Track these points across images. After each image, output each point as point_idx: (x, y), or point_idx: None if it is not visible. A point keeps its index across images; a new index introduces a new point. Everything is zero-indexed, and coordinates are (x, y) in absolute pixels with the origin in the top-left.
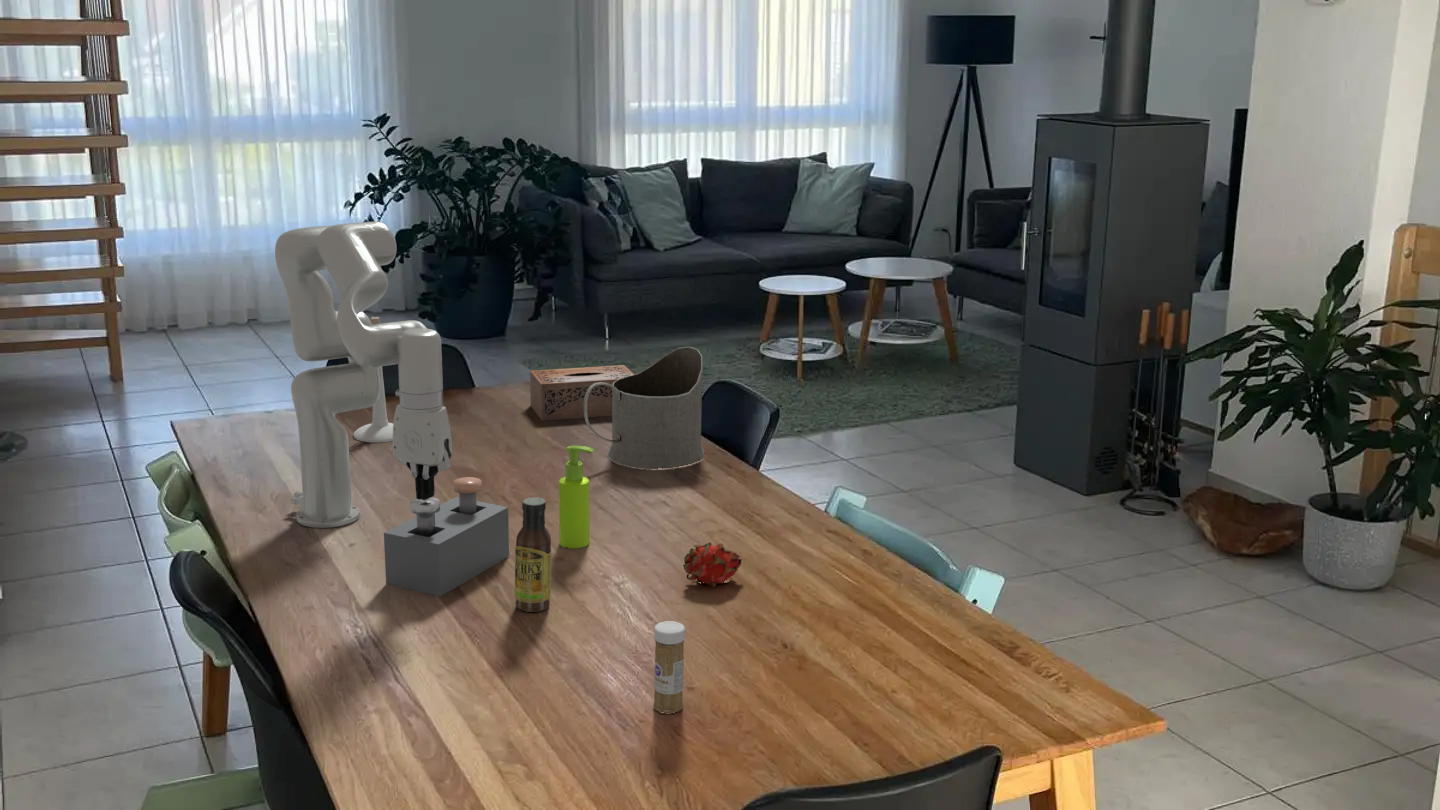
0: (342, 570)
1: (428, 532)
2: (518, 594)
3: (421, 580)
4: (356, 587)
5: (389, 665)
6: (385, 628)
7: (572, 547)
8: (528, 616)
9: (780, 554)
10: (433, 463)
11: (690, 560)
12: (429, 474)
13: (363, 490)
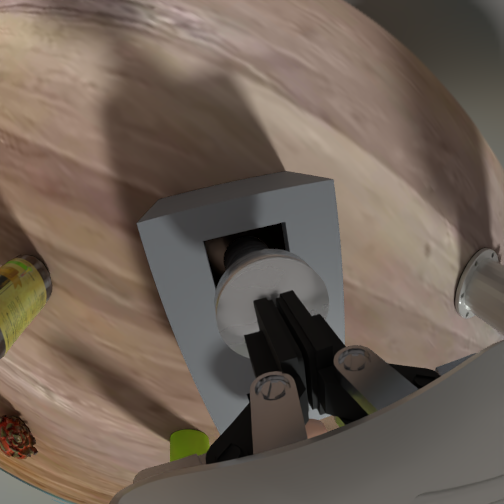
0: (383, 170)
1: (229, 260)
2: (14, 261)
3: (202, 191)
4: (316, 129)
5: (49, 7)
6: (133, 49)
7: (176, 432)
8: (12, 250)
9: (56, 474)
10: (132, 494)
11: (7, 432)
12: (253, 411)
13: (472, 346)
